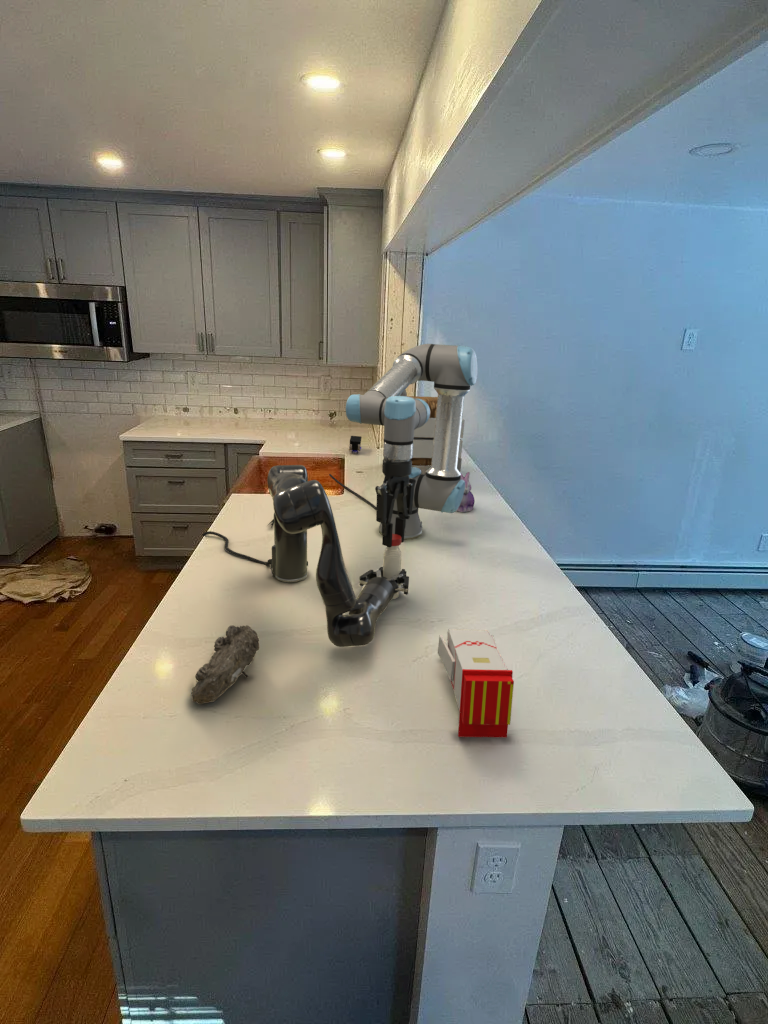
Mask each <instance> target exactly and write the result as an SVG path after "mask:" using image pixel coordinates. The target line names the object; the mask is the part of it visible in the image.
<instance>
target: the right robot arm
mask: <svg viewBox="0 0 768 1024" xmlns="http://www.w3.org/2000/svg"><path fill="white" fill-rule="evenodd" d="M477 357H478V356H477V353H476V351H475V350H474V349H473V347H470V346H466V345H465V346H464V345H455V344H454V345H453V344H440V343H439V344H438V343H437V344H436V343H435V344H434V343H423V344H419V345H415V346H413V347H411V348H409V349H407V350H405V351H404V352H402V353H401V354H399V355H398V356H397V357H396V358H395V359H394V361H393V363H392V367H390V369H389V370H387V371H386V372H385V373H384V374H383V375H382V376H381V377H380V378H379V379H378V381H376V382H375V383H374V384H373V385H372V386H371V387H370V388H369V389H368V390H367V391H366V392H365V393H364V394H360V393H358V394H351V395H349V396H348V398H347V400H346V403H345V416H346V418H347V420H348V421H349V422H351V423H352V422H353V423H358V424H365V425H374V426H383V452H382V455H383V456H382V457H383V459H382V468H381V470H382V473H383V475H384V477H383V481H382V484H380V485H376V486H375V488H374V489H375V493H376V505H375V504H373V503H372V502H371V501H369V500H368V499H366V498H365V497H364V496H362V495H360V494H358V493H357V492H356V491H354V490H353V489H351V488H349V487H348V486H346V485H344V484H343V483H342V482H341V481H340V480H337V478H335V477H334V476H333V475H332V474H331V473H329V474H328V476H329V477H330V478H331V479H332V480H333V481H335V482H336V483H337V484H338V485H340V486H341V487H342V488H344V489H345V490H347V491H349V492H350V493H352V494H353V495H355V496H356V497H358V498H359V499H360V500H362V501H364V502H365V503H366V504H368V505H370V506H371V507H372V508H373V509H375V512H376V513H375V514H376V515H375V521H376V522H378V523H379V526H378V533H379V534H380V535H381V536H382V542H381V544H382V546H383V547H389V548H390V547H392V534H397V535H400V536H401V544H402V543H404V542H405V541H410V540H415V539H418V538H420V537H421V536H422V535H423V525H422V524H423V522H422V521H421V518H420V515H419V509H422V510H429V511H433V512H439V513H440V512H441V513H442V514H443V513H447V514H453V513H456V512H457V511H456V510H457V509H458V508H459V506H460V503H461V501H462V498H463V494H464V490H465V481H464V480H462V479H460V478H461V473H462V472H461V473H460V472H459V471H458V469H457V463H458V453H459V444H460V439H461V438H460V434H461V425H462V419H463V414H464V404H465V397H466V395H467V394H468V393H469V392H470V391H471V387H472V386H474V385H476V383H477V381H478V380H477V378H478V372H479V371H478V369H479V368H478V367H479V366H478V359H477ZM417 382H432V383H433V389H434V391H436V393H437V397H438V398H437V409H436V420H435V431H434V442H433V453H432V464H431V465H430V466H429V468H427V469H426V471H425V474H424V473H422V469H421V468H419V467H417V466H412V461H411V459H412V458H413V439H414V430H415V429H417V428H420V427H422V426H423V425H424V424H425V423H426V422H427V421H428V419H429V417H430V408H429V406H428V404H427V403H426V402H425V401H424V400H422V399H413V398H411V397H406V396H400V395H401V394H402V393H403V391H404V390H406V389H407V388H408V387H409V386H410V385H414V384H415V383H417Z"/></svg>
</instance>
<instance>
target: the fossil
mask: <svg viewBox="0 0 768 1024" xmlns="http://www.w3.org/2000/svg"><path fill="white" fill-rule="evenodd" d="M213 647H214V649H213V650H214V652H213V654H212V656H211V658H210V659H209V661H208V663H205V664H203V665H202V666H201V667H200V668H198V670H197V671H196V673H195V676H194V677H195V679H196V681H197V682H196V683H195V685H194V686H193V687H192V688H191V700H192V702H193V703H197V704H198V705H203V704H207V703H214V702H215V701H216V700H218V698H219V697H221V696H222V695H223V694H224V693H226V692H227V690H228V689H229V688H231V686H233V684H235V683H236V682H237V680H238V678H239V677H240V676H241V675H243V676H244V677H245V678H249V675H248V674H247V673H246V672H245V669H246V668H247V667H248V666H250V665H251V663H253V662H254V658H255V656H256V654H257V652H259V650H260V637H259V636H258V633H257V632H256V630H254V629H252V628H251V626H249V625H247V624H246V625H240V626H236V625H234V624H233V625H229V626H228V627H227V630H226V631H225V636H220V637H219V636H218V637H217V638H216V639H215V641H214V645H213Z"/></svg>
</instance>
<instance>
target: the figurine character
mask: <svg viewBox="0 0 768 1024" xmlns="http://www.w3.org/2000/svg"><path fill="white" fill-rule="evenodd" d="M362 438H363V437H362V435H361V436H360V435H350V438H349V446H348V448H349V449H348V450H349V451H351V455H352V454H354V453H356V455H358V454H359V451H361V450H362V446H361V445H362V444H361V443H362Z"/></svg>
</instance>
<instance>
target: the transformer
mask: <svg viewBox="0 0 768 1024" xmlns="http://www.w3.org/2000/svg"><path fill="white" fill-rule="evenodd" d="M407 394H408V393H407V390H406V389H405V390H404V391H403V393H402V394H401V395H400V396H406V397H411V398H413V399H422V400H424V401H425V402H426V403H427V404H428V406H429V408H430V417H429V419H428V421H427V422H426V423H425V424H424V425H423V426H422V427H420V428H417V429H415V430H414V439H413V458H412V459H411V461H412V467H417V466H418V467H431V464H432V453H433V442H434V431H435V420H436V409H437V398H438V396H415V395H414V396H413V395H412V396H411V395H407ZM464 429H465V419H464V418H462V425H461V434H460V444H459V453H458V463H457V469H458V471H459V472H460V473H462V461H463V460H462V453H463V442H464V441H463V440H462V439H463V438H464V431H465V430H464Z"/></svg>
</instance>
